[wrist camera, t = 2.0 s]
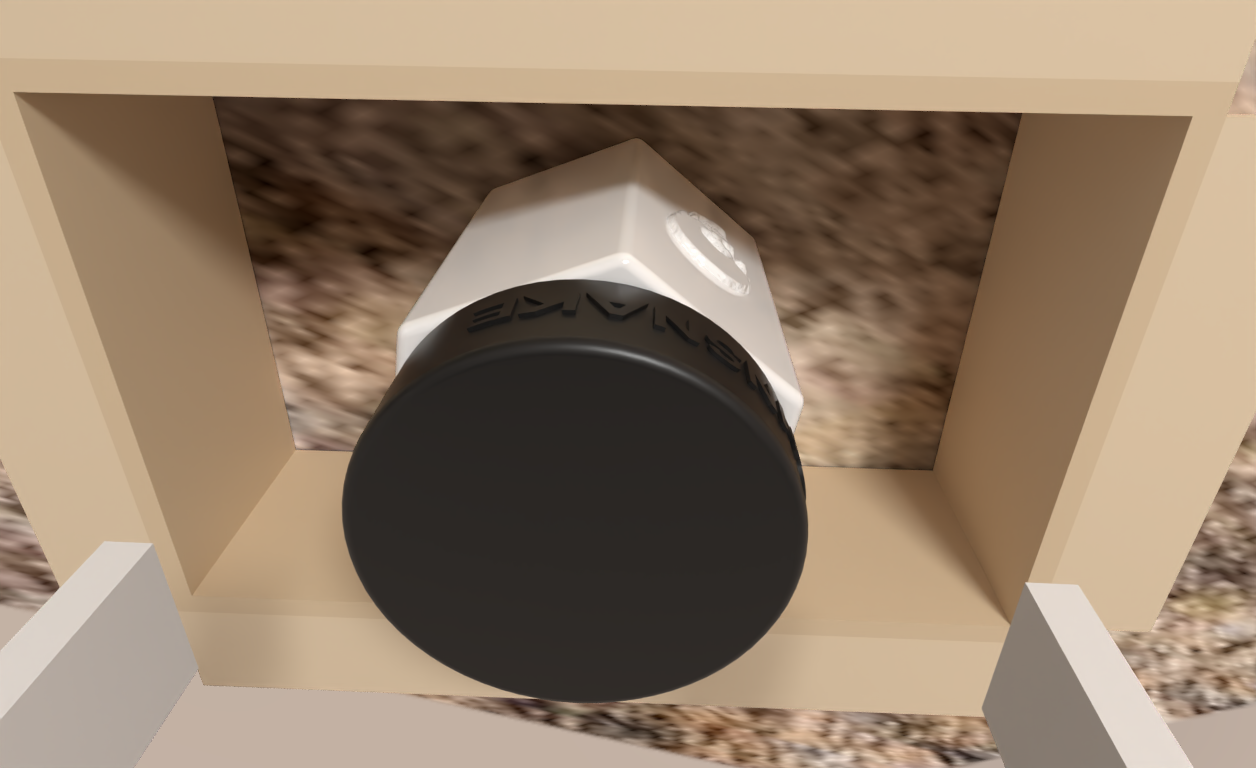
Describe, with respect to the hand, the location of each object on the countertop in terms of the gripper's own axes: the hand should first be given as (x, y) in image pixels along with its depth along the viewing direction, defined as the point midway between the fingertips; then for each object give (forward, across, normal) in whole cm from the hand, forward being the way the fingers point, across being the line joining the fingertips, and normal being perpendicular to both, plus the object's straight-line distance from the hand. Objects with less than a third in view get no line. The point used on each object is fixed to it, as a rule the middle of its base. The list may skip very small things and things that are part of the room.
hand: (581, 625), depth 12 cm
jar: (+14, 0, 0) cm, 14 cm away
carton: (+14, 0, 0) cm, 14 cm away
